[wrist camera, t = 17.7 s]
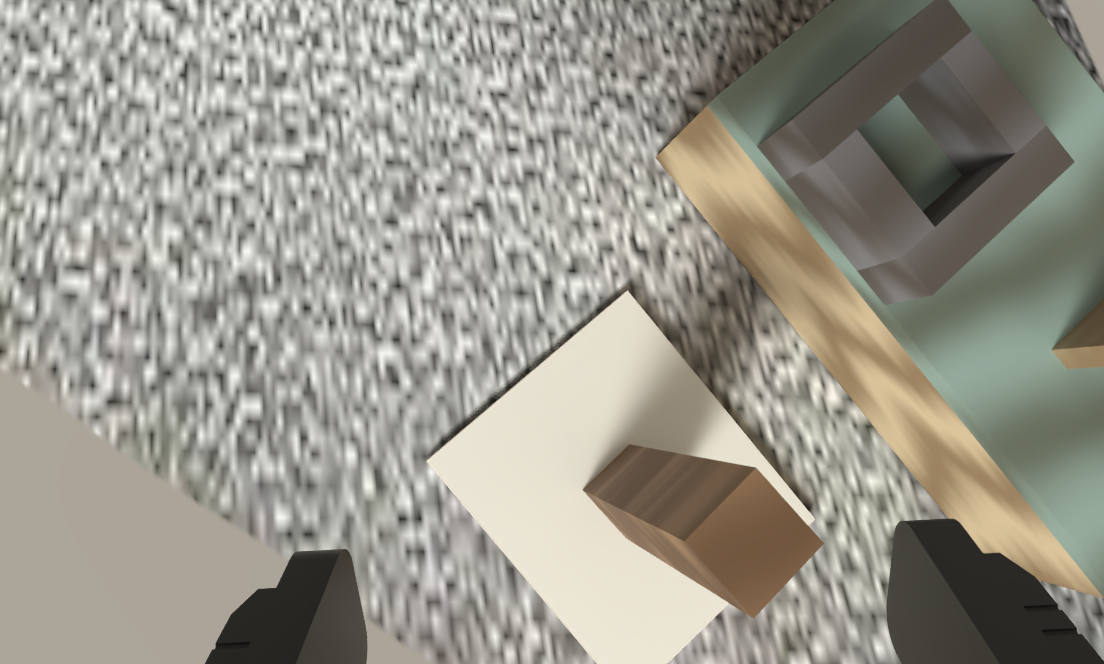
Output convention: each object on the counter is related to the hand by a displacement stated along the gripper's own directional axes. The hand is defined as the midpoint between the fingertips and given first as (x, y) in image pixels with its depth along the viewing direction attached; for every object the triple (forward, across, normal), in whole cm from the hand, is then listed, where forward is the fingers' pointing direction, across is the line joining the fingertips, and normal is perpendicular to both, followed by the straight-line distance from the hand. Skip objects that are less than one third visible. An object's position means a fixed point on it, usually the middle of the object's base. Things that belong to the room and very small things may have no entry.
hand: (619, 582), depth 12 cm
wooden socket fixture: (+30, -17, +6) cm, 35 cm away
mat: (+22, -1, +13) cm, 26 cm away
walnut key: (+22, -1, +13) cm, 25 cm away
